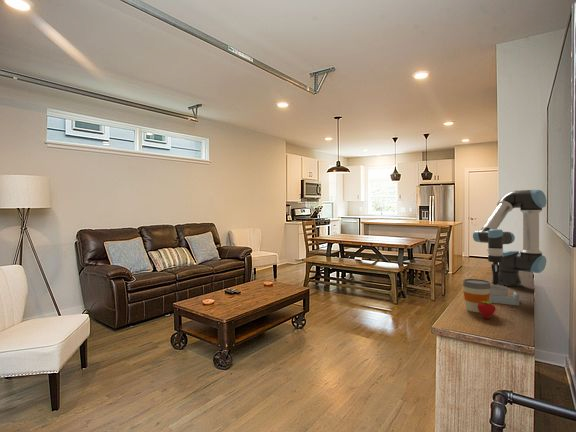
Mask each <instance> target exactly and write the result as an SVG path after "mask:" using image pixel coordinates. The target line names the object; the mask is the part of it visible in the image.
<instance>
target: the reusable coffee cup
mask: <svg viewBox="0 0 576 432" xmlns="http://www.w3.org/2000/svg"><path fill="white" fill-rule="evenodd" d="M490 285H491V282H490V281H489V280H485V279H478V278H465V279H463V282H462V287H463V297H464V300H465V305H466V310H467V311H469V312H472V311H473V313H479V310H478V307H477V306H478V304H479V303H483V302H480V301H485V302H487V301H489V297H490V293H489V291H490V288H491V286H490ZM487 298H488V299H487Z"/></svg>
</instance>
